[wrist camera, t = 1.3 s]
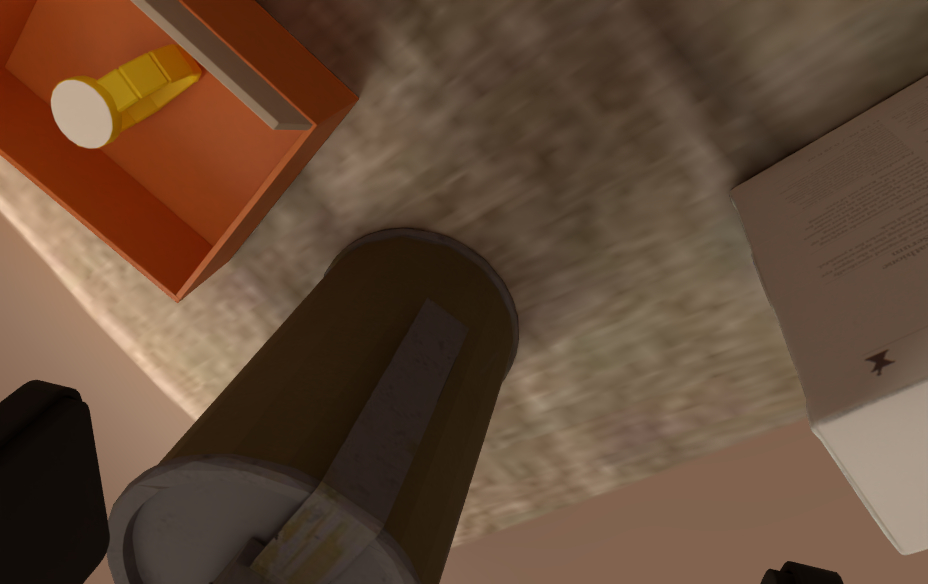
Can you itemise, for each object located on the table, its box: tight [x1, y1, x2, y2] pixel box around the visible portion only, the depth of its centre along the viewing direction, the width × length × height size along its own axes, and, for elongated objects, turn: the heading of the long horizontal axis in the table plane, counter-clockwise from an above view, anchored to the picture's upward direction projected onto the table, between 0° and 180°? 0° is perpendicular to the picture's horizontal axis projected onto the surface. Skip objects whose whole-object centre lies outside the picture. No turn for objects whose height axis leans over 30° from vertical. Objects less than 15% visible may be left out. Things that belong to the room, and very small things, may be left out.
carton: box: [0, 0, 359, 303], centre depth 32 cm, size 14×12×5 cm
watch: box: [51, 44, 202, 148], centre depth 31 cm, size 6×3×6 cm, turn 123°
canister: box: [107, 228, 519, 584], centre depth 28 cm, size 11×10×20 cm
